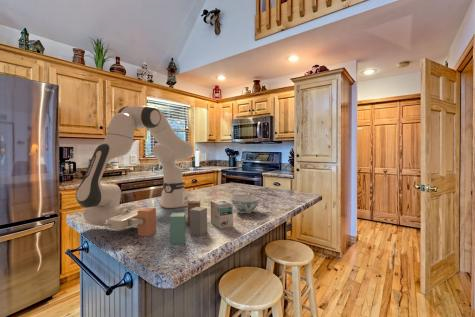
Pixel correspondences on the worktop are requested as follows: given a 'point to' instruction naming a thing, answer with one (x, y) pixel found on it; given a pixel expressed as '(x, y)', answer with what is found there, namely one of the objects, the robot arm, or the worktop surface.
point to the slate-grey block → (198, 220)
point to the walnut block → (192, 205)
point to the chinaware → (245, 203)
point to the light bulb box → (222, 213)
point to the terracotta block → (147, 221)
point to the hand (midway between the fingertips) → (148, 219)
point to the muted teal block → (177, 228)
